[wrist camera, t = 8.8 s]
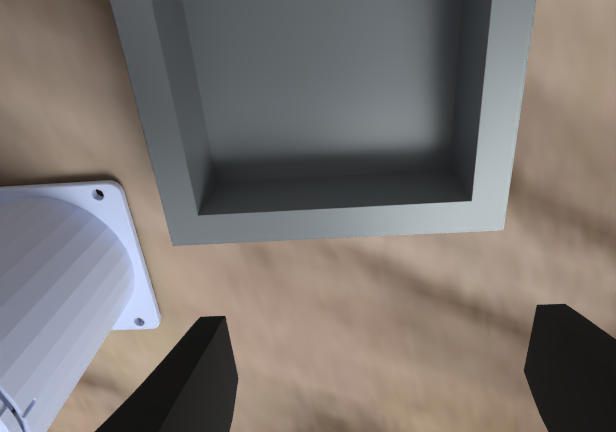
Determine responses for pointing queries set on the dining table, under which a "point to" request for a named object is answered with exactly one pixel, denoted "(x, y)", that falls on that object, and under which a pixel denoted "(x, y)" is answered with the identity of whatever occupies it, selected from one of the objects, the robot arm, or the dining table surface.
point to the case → (327, 114)
